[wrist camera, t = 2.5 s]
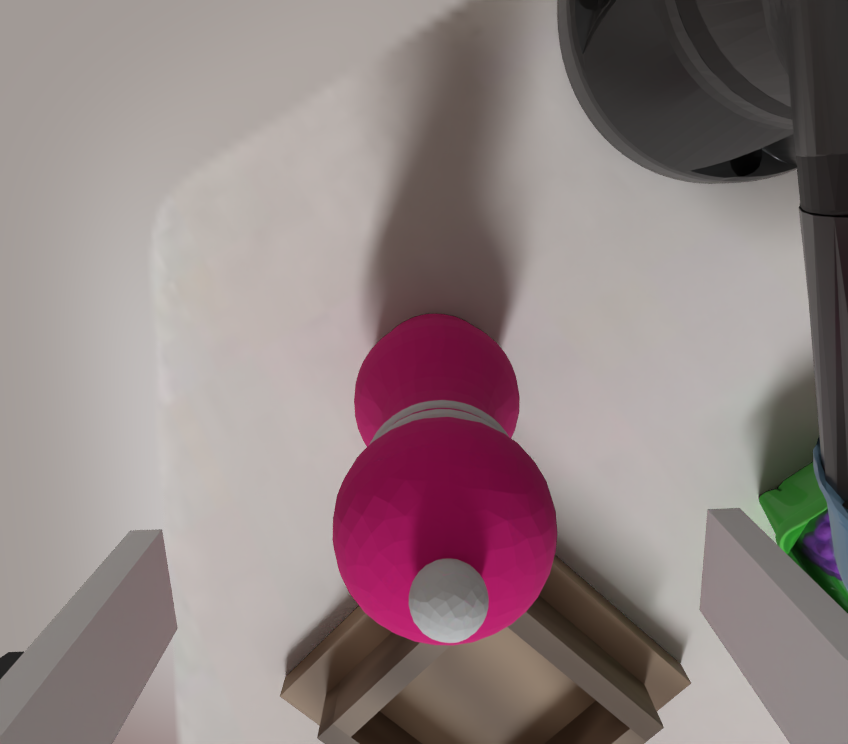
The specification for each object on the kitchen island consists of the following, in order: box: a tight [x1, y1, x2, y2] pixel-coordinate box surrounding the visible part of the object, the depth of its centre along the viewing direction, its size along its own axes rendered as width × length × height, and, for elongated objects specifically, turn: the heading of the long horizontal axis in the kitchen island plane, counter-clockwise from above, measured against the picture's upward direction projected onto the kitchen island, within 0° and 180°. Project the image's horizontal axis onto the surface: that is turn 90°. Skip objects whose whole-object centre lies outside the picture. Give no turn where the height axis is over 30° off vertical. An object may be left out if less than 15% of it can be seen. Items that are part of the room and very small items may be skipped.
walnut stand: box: [280, 555, 691, 744], centre depth 35 cm, size 16×16×4 cm
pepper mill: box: [333, 314, 557, 645], centre depth 23 cm, size 7×7×20 cm
